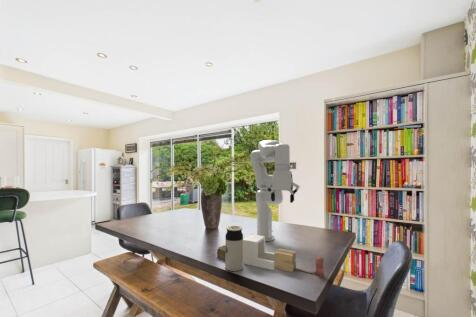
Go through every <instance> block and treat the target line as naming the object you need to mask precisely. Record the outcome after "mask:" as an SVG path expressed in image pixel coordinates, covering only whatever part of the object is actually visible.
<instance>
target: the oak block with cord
mask: <svg viewBox="0 0 476 317" xmlns="http://www.w3.org/2000/svg"><path fill="white" fill-rule="evenodd" d="M274 253H275V262H274V269H276V270H280V271H285V272H286V271H287V272H291V273H293V272H294V270H295V271H298V272H299V271H300V272H304V273H309V274H314V275H316V277H321V278H323V277H324V271H325V270H324V257H321V256H315V271H313V270H307V269H303V268H297V263H296V262H297V255H296V254H297V251H294V250H289V249H284V248H278V249H277V250H276V251H274Z"/></svg>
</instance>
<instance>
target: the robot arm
mask: <svg viewBox="0 0 476 317" xmlns="http://www.w3.org/2000/svg"><path fill="white" fill-rule="evenodd" d="M257 148H258V149H256V150H252V151H251V153H250V155H249V156H250V157H249V158H250V159H249V160H250V163H251V166H252V169H253V172H254V176H255V184H256V187H257V188H258V189H259V190H257V191H256V193H255V201H256V209H257V210H256V213H257V214H256V230H257V231H256V235H259V236H265V242H272V241H274V240H275V236H274V235H273V219H272V218H273V212H272V209H271V208H270V206H269V205H279V204H280V205H281V203H282V202H283V199H284V197H283V191H285V192H286V191H287V192H289V193H290V194H289V202H290V204H292V203H293V202H294V201H295V194H297V192H298V191H299V189H300V188H301V186H300V185H299V184H297V183H295V182H294V179H293V173H292V172H293V171H292V170H291V169H293V165H290V163H291V162H290V160H291V159H290V157H291V155H290V154H291V152H290V145H289V144H287V143H280V142H279V140H267V139H265V140H261V141H259V143H258V145H257ZM273 162H274V170H273V173H272V174H268V171H267V168H266V166H265V165H263V164H262V163H273ZM294 187H295V188H294ZM293 189H294V190H293Z"/></svg>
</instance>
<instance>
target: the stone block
mask: <svg viewBox="0 0 476 317" xmlns="http://www.w3.org/2000/svg"><path fill="white" fill-rule="evenodd" d="M216 251H217V252H216V256H217V257H218V258H220V259H222V260H225V245H221V246H219V247H218V249H217V250H216Z"/></svg>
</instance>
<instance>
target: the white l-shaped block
mask: <svg viewBox="0 0 476 317" xmlns="http://www.w3.org/2000/svg"><path fill="white" fill-rule="evenodd" d="M245 264H246V265H249V266H252V267H253V266H254V267H257V268H262V269H266V270H270V271H274V270H275V252H270V251H266V241H265V236H259V235H257V234H254V233H253V234H250V235H248V236H247V237H246V238H243V265H245Z"/></svg>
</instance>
